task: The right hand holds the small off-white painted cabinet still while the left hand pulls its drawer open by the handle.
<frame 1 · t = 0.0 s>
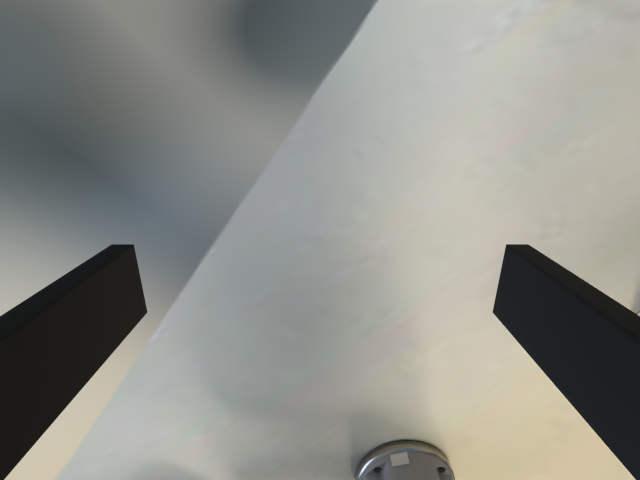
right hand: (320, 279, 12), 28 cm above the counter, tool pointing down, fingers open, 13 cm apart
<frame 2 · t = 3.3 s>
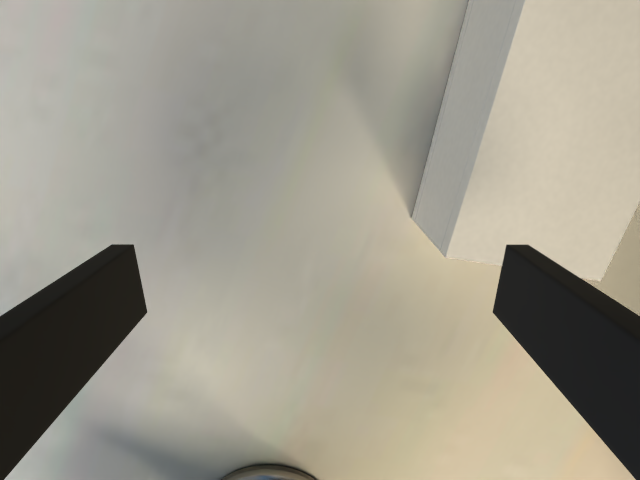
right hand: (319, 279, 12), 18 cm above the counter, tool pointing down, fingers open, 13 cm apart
cabinet: (501, 129, 27), on the counter
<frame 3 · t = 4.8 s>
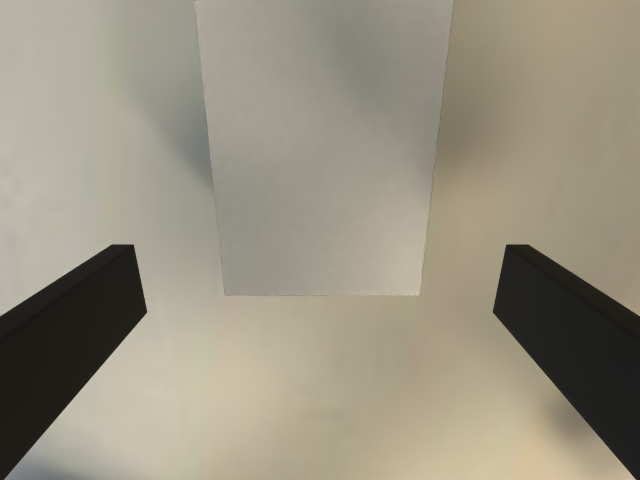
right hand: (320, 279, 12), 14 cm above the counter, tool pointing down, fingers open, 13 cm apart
cabinet: (322, 126, 24), on the counter
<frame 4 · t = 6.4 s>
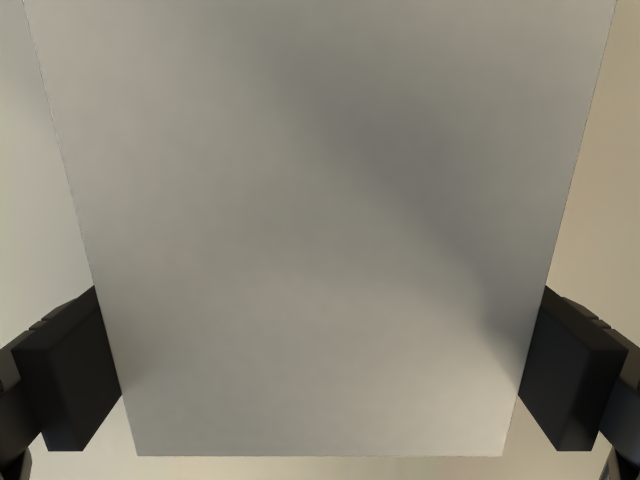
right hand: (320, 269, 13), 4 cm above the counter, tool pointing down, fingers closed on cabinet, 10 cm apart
cabinet: (319, 134, 15), on the counter, touching right hand
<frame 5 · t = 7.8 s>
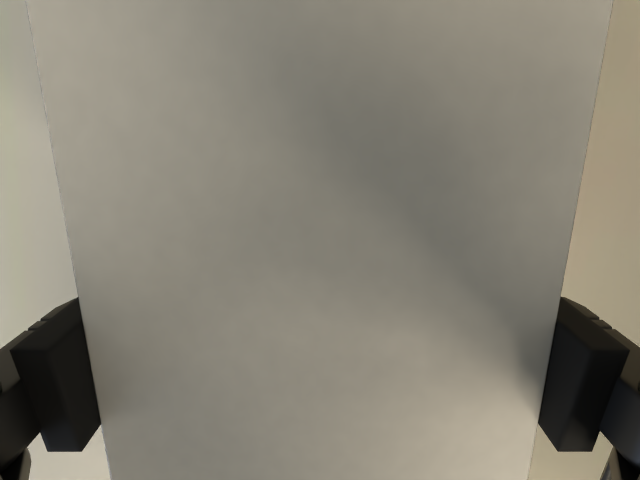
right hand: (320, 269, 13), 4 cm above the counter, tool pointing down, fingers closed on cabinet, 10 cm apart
cabinet: (319, 149, 15), point 1 cm above the counter, tilted 6°, touching right hand
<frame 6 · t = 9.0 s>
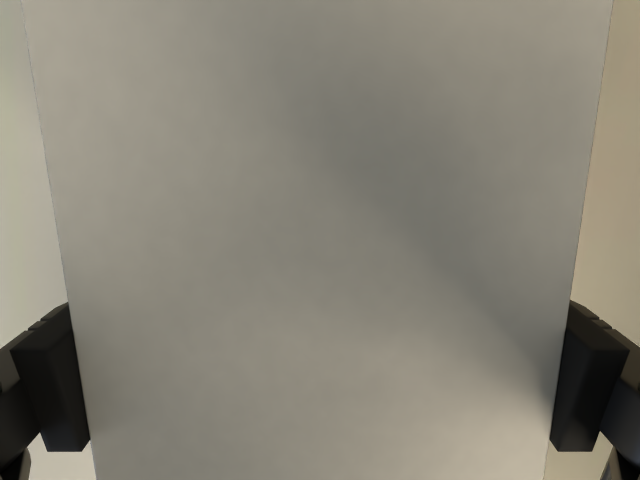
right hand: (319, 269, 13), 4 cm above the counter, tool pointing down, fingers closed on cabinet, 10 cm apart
cabinet: (318, 153, 15), point 1 cm above the counter, tilted 8°, touching right hand
when the right hand's fingers open (4 cm above the counter, at t = 10.8 s): cabinet stays where it is, on the counter.
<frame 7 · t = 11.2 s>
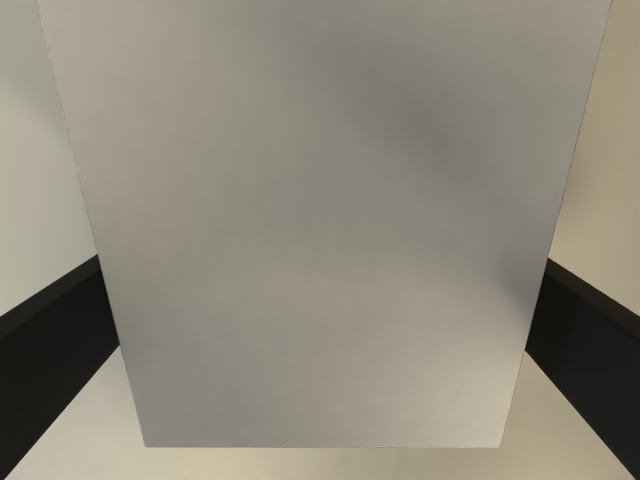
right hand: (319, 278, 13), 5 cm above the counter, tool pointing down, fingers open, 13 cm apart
cabinet: (321, 133, 15), on the counter
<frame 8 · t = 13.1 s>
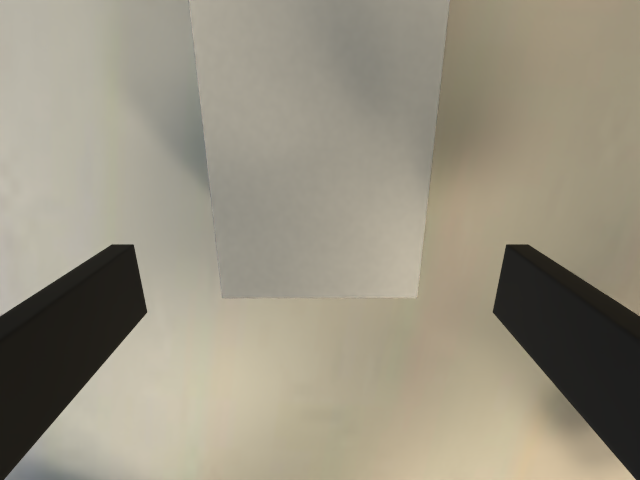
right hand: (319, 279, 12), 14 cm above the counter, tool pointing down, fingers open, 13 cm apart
cabinet: (319, 127, 24), on the counter
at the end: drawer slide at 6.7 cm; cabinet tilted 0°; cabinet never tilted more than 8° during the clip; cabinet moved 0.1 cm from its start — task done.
